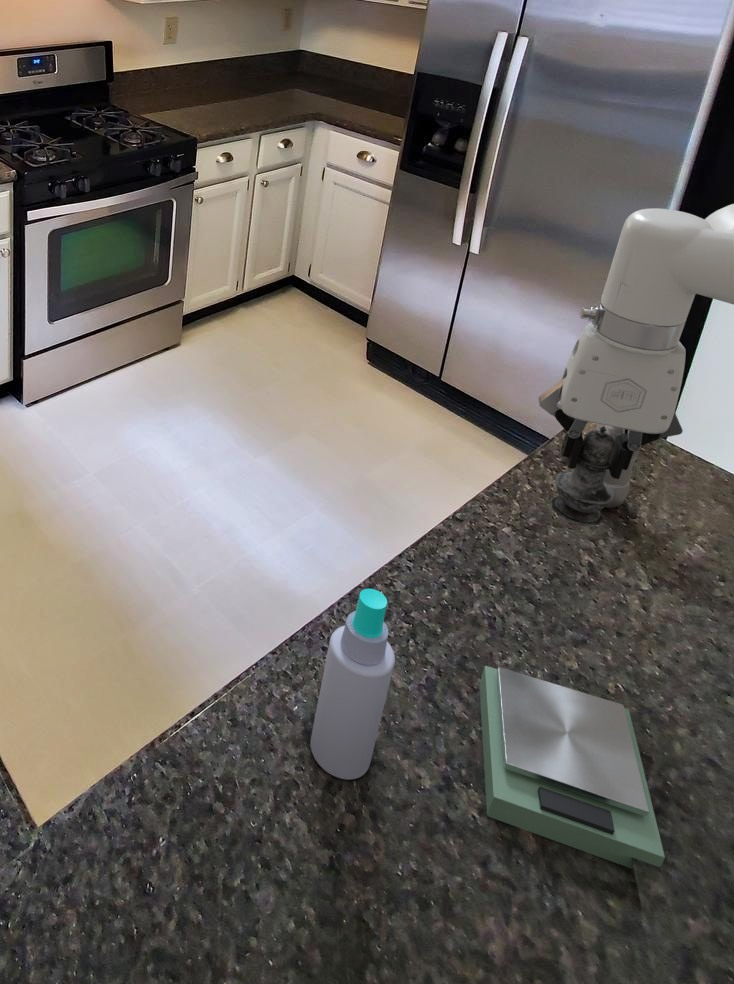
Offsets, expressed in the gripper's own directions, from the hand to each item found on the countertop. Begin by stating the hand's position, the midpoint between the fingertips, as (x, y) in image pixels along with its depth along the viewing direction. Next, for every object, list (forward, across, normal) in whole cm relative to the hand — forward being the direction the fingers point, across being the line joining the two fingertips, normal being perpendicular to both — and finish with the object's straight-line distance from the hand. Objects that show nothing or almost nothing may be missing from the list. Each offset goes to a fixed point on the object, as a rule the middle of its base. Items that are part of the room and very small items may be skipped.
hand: (591, 465), depth 91 cm
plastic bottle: (+23, +9, +28) cm, 37 cm away
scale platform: (+19, 0, -21) cm, 29 cm away
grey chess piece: (+7, 0, 0) cm, 7 cm away
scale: (+23, 0, -22) cm, 32 cm away
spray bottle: (+23, -21, -30) cm, 43 cm away
